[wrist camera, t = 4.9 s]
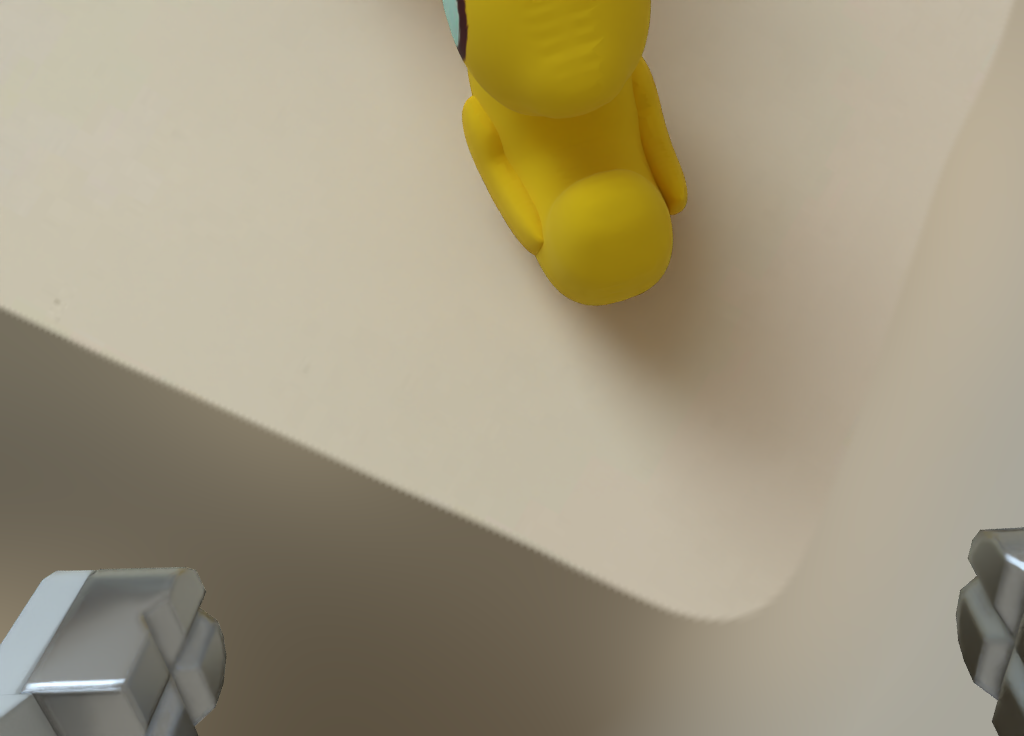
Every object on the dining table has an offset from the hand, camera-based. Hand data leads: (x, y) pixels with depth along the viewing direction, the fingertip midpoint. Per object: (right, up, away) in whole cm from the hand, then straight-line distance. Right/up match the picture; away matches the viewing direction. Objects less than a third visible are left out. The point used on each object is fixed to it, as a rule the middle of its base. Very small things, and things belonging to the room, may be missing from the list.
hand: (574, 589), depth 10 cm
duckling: (+1, +8, +18) cm, 20 cm away
